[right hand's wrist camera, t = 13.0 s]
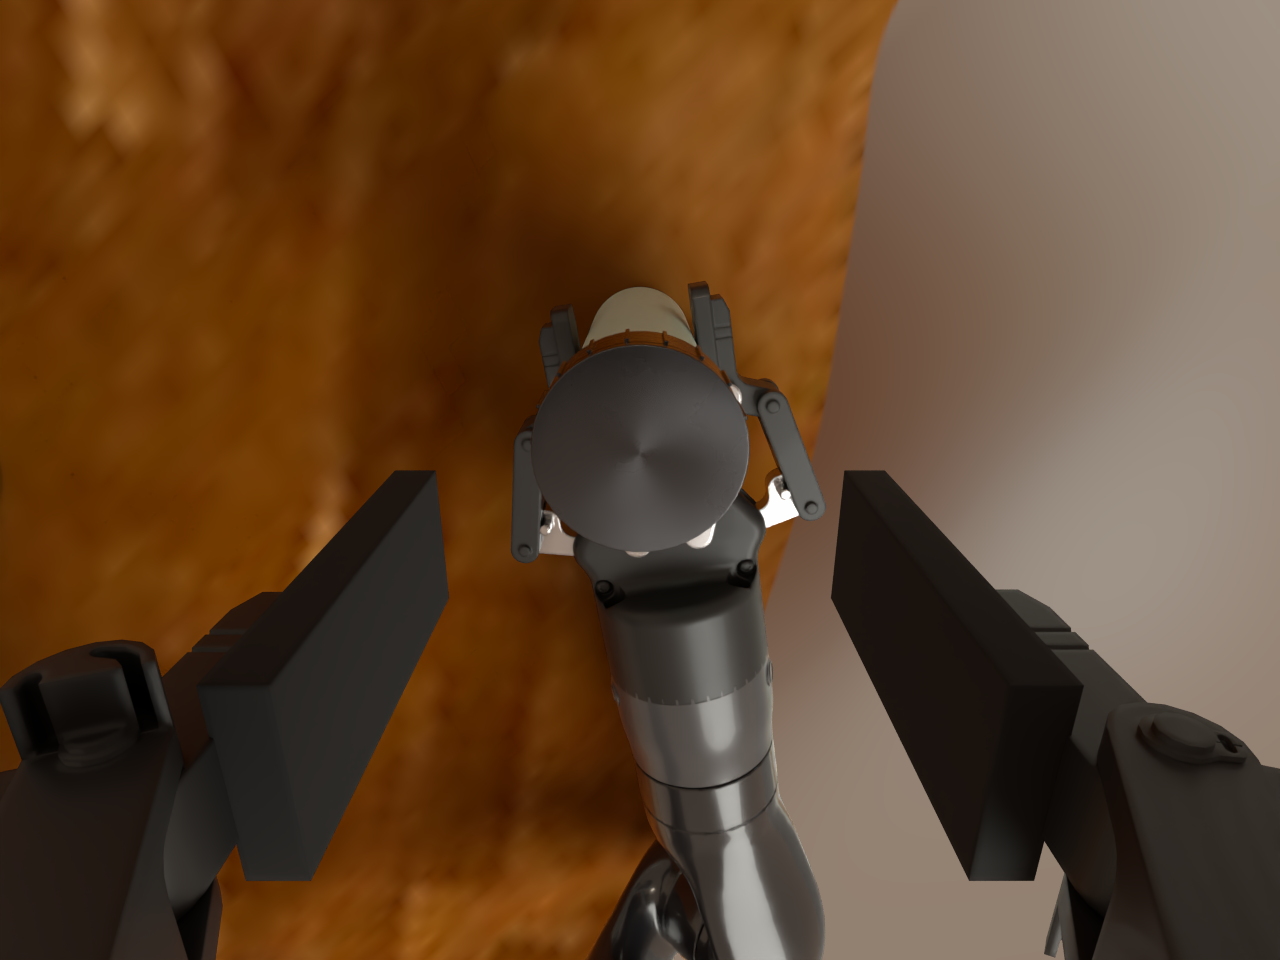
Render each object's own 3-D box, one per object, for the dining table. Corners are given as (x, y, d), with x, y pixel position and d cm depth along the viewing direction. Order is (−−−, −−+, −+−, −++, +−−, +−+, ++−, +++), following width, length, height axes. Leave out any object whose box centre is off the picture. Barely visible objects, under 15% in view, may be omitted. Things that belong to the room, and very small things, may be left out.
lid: (539, 322, 20) (527, 335, 18) (752, 334, 20) (765, 349, 18) (537, 516, 22) (526, 548, 20) (731, 526, 22) (740, 559, 20)
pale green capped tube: (592, 283, 35) (550, 353, 18) (692, 289, 35) (739, 363, 18) (589, 382, 36) (547, 527, 20) (685, 388, 36) (721, 535, 20)
